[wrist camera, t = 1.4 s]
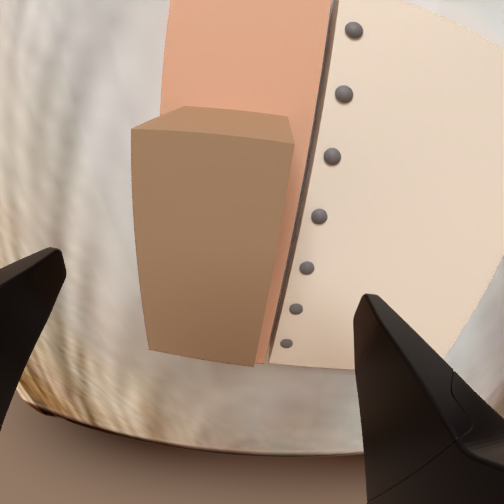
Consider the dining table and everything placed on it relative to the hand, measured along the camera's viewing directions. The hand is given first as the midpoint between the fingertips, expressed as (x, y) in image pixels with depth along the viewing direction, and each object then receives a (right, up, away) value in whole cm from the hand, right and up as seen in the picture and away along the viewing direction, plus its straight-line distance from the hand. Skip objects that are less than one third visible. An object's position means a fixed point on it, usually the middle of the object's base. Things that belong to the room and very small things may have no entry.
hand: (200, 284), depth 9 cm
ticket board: (+10, +2, +6) cm, 12 cm away
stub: (0, +4, +6) cm, 7 cm away
